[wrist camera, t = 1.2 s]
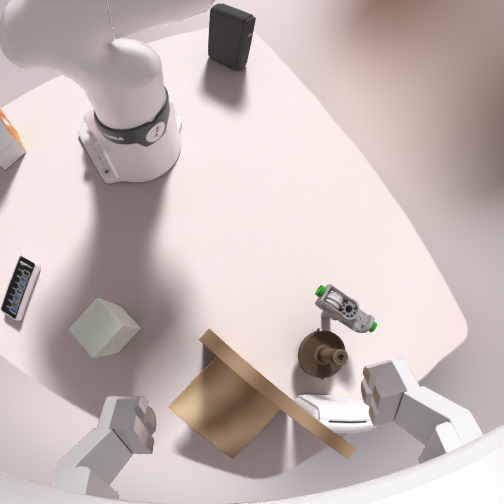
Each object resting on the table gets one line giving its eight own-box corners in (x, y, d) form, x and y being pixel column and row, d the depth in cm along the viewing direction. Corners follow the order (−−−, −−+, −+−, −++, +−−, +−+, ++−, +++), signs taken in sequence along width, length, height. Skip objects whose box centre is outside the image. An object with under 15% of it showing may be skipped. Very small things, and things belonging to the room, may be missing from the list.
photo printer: (351, 395, 50) (387, 407, 38) (346, 418, 49) (381, 435, 37) (294, 391, 49) (319, 406, 37) (290, 415, 48) (313, 437, 36)
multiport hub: (6, 311, 45) (-1, 310, 43) (26, 257, 48) (20, 253, 46) (22, 322, 45) (15, 321, 43) (42, 266, 48) (37, 263, 46)
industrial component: (296, 326, 52) (321, 323, 40) (336, 333, 52) (369, 331, 41) (285, 381, 49) (307, 394, 38) (326, 387, 50) (356, 399, 38)
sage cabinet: (96, 331, 47) (67, 330, 36) (120, 305, 49) (96, 297, 37) (117, 353, 47) (92, 358, 35) (141, 327, 48) (122, 325, 37)
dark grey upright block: (249, 64, 65) (259, 14, 50) (239, 73, 64) (247, 22, 49) (216, 49, 65) (221, 0, 51) (206, 57, 64) (209, 7, 49)
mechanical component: (344, 336, 52) (372, 336, 43) (296, 304, 53) (315, 297, 43) (352, 322, 53) (381, 318, 44) (305, 289, 53) (326, 279, 44)
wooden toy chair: (161, 381, 47) (118, 423, 22) (208, 331, 50) (209, 328, 25) (241, 447, 45) (272, 532, 21) (287, 399, 49) (356, 448, 24)
